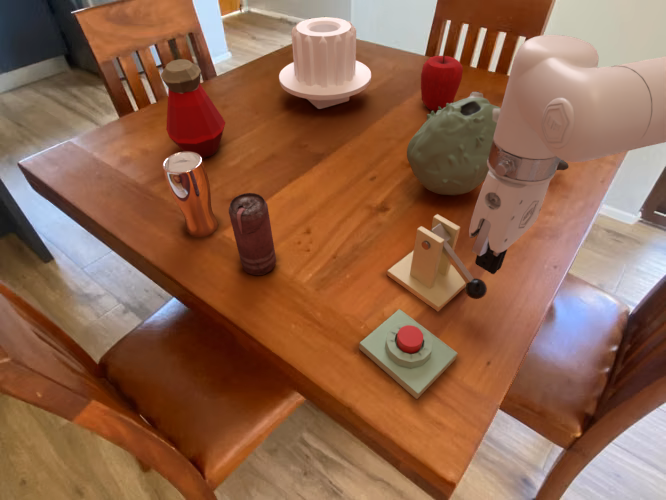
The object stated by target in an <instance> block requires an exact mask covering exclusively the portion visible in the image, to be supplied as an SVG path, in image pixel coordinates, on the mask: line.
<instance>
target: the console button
mask: <svg viewBox="0 0 666 500" xmlns="http://www.w3.org/2000/svg"><path fill="white" fill-rule="evenodd" d="M422 342H423V334H422V332H421V330H420V329H418V328H417V327H415V326H411V325H407V326H404V327H402V328H400V330H399V331H398V335H397V345H398V347H399V348H400V349H401V350H402V351H403V352H405V353H415V352H417V351H419V350H420V349H421V346H422Z"/></svg>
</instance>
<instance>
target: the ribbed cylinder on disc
mask: <svg viewBox="0 0 666 500" xmlns="http://www.w3.org/2000/svg"><path fill="white" fill-rule="evenodd" d="M290 34H291V47H292V57H293V59H292V60H293V62H290V63H289V64H287V65H286V66H284V67H283V68H282V69H281V70H280V72H279V75H278V79H279V80H278V81H279V85H280V86H281V88H282V89H283V90H284V91H285V92H287V93H288V94H290V95H292V96H295V97H297V98H302V99H306V100H307V101H308V102H310V103H311V104H312V105H313V106H314V107H315V108H316V109H318V110H322V109H325V108H329V107H333V106H336V105H339V104H343V103H346V102H349V101H350V97H352V96H356V95H358V94H359V93H361V92H364V90H366V89H367V88H368V87H369V86H370V84H371V83H372V82H371V81H372V72H371V69H370V67H368V66H367V65H366V64H365V63H363V62H361V61H359V60H357V28H356V27H355V26H354V25H353V23H352V22H351V21H350V20H345V19H342V18H340V17H329V16H328V17H325V16H323V17H314V18H308V19H304V20H302V21H297V23H296V25H295V26H293V27H292V29H291V31H290Z"/></svg>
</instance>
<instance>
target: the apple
mask: <svg viewBox="0 0 666 500" xmlns="http://www.w3.org/2000/svg"><path fill="white" fill-rule="evenodd" d="M463 72H464V66H463V65H462V63H461V62H460V61H459V60H458V59H456V58H454V57H453V56H448V55H433V56H430V57H429V58H428V59H427V60H426V61H425V62H424V63H423V65H422V69H421V74H420V95H421V101H422V103H423V104H424V106H425V107H426V108H427V109H428V110H429V111H434V112H437V111H438V110H439V108H438V107H441V108H442V109H443V108H445V107H446V104H447V103H449V104H450V103H454V102H455V98H456V95H457V94H458V90H459V87H460V84H461V83H462V79H463Z"/></svg>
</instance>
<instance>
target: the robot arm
mask: <svg viewBox="0 0 666 500" xmlns="http://www.w3.org/2000/svg"><path fill="white" fill-rule="evenodd" d="M598 53H599V52H598V50H597V49H596V48H595V47H594V45H593V44H592V43H590V42H588V41H586V40H583V39H581V38H578V37H574V36H570V35H564V34H542V35H536V36H534V37H531V38H528V39H526V40H525V41H524V42H523V43H522V44H520V46H519V47H518V49H517V50H516V53H515V55H514V58H513V61H512V65H511V68H510V72H509V76H508V79H507V84H506V88H505V92H504V95H503V99H502V104H501V106H500V107H501V108H500V109H501V110H500V114H499V118H498V121H497V125H496V129H495V133H494V137H493V140H492V144H491V148H490V152H489V156H488V159H487V166H488V168H489V171H488V173H487V176H486V178H485V180H484V181H483V182H482V183H483V184H482V186H481V188H480V191H479V194H478V197H477V200H476V203H475V206H474V209H473V212H472V215H471V219H470V224H469V227H468V228H469V229H468V236H469V238H470V239H473V238H475V237H476V238H475V241H474V243H473V246H472V247H471V252H472V253H473V254H475V255H476V258H475V261H474V263H475V265H477V267H480V268H481V269H483V270H485V271H486V272H488V273H490V274H492V275H495V274H496V273H497V272H498V271H500V269H501V268H502V266H503V263H504V260H505V257H506V255H507V252H508V249H509V248H510V247H511V246H512V245H513V244H515V243H516V242H517V241H518V240H519V239H520V238H521V237H522V236H523V235H525V233H527V232H528V231H529V230H530V229H531V228H532V227H533V226H534V225H535V223H536V222H537V220H538V218H539V216H540V213H541V210H542V208H543V204H544V202H545V198H546V195H547V192H548V189H549V186H550V183H551V180H552V179H553V178H554V177H555V174H556V172H557V171H558V170H557V167H558V165H559V162H560V160H564V161H565V162H567V163H568V162H569V163H584V162H585V163H587V162H591V161H595V160H599V159H603V158H607V157H610V156H615V155H618V154H623V153H626V152H630V151H633V150H638V149H642V148H646V147H650V146H654V145H659V144H664V143H666V55H664V56H660V57H655V58H648V59H643V60H637V61H632V62H626V63H622V64H616V65H612V66H599V67H598V65H599V60H600V59H599V54H598Z"/></svg>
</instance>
